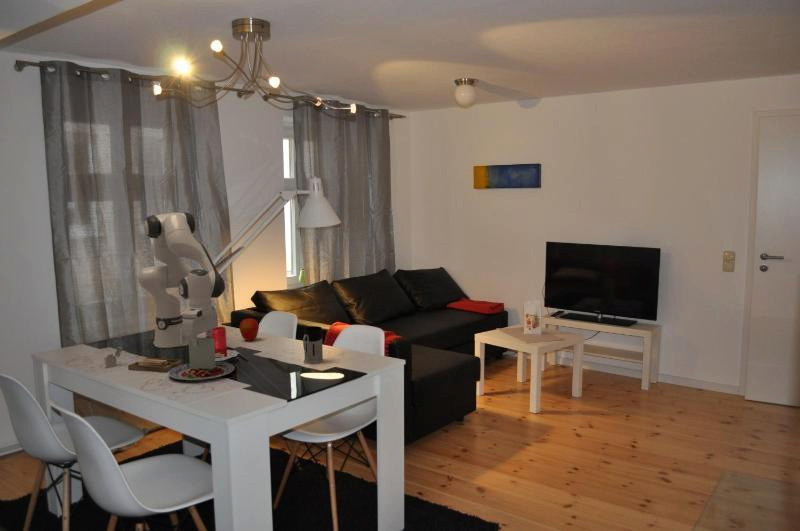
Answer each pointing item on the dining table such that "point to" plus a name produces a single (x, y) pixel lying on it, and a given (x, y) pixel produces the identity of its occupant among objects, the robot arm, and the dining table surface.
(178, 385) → the dining table surface
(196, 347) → the grey-green rectangular block
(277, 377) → the dining table surface
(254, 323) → the apple
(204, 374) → the ceramic plate
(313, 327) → the glass holder
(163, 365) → the offcut stack
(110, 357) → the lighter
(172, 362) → the walnut rack
